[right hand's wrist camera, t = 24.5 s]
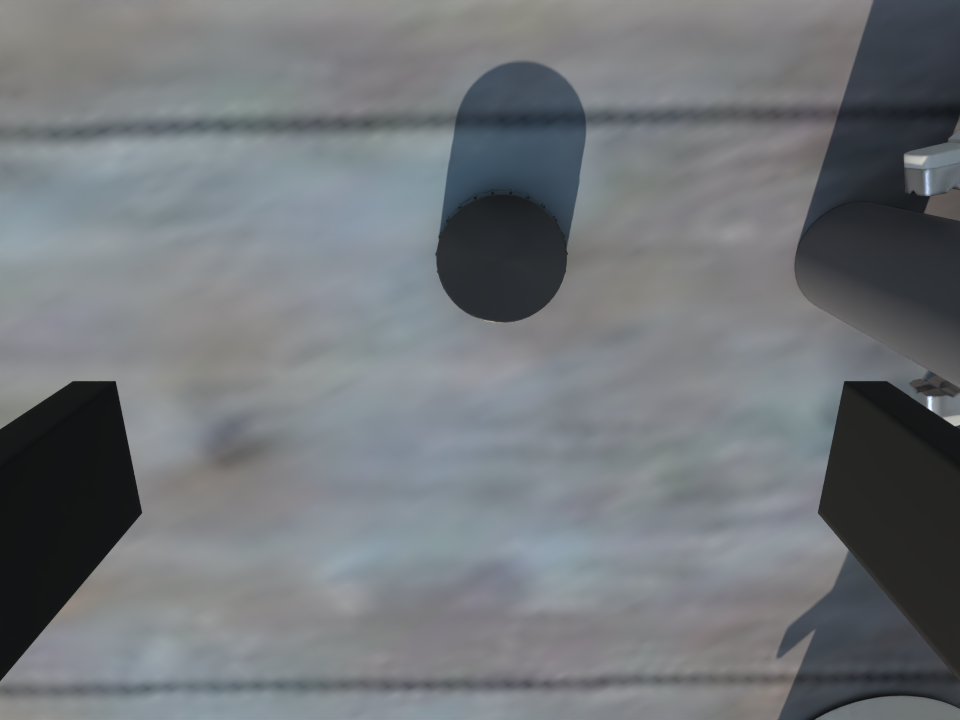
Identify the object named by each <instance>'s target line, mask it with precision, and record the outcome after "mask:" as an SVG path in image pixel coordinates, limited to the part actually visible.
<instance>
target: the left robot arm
mask: <svg viewBox="0 0 960 720" xmlns="http://www.w3.org/2000/svg"><path fill="white" fill-rule="evenodd" d="M904 176H905V193H908V194H911V193H916V194H917V195H920V196H931V195H939V194H943V193H947V192H948V191H949V190H950V189H957V190H960V129H959V130H958V131H957V132H956V133H954V134H953V135H952V136H951V137H950V138H949V139H948V142H947V143H943V144H938V145H934V146H930V147H925V148H921V149H917V150H912V151H909V152H906V153H904ZM909 396H910V397H911V398H913V399H914V400H916V401H918V402H919V403H921V404H922V405H924V406H925V407H927V408H928V409H930V410H931V411H933V412H934V413H936V414H937V415H939V416H940V417H942V418H943V419H945V420H946V421H948V422H949V423H951V424H952V425H954V426H957V425H960V388H959V387H957V386H956V385H954V384H952V383H950V382H949V381H947V380H945V379H943V378H942V377H940V376H933V377H931V378H930V379H928V380H927V381H924V380H922V379H918V380H914V381H912V382H910V383H909ZM815 720H960V709H959V708H957V707H955V706H953V705H950V704H948V703H945V702H942V701H938V700H935V699H930V698H924V697H916V696H886V697H878V698H872V699H866V700H862V701H858V702H854V703H851V704H848V705H845V706H842V707H839V708H837V709H835V710H832V711H830V712H828V713H826V714H824V715H822V716H820V717H818V718H817V719H815Z"/></svg>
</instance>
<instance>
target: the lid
mask: <svg viewBox="0 0 960 720" xmlns="http://www.w3.org/2000/svg"><path fill="white" fill-rule="evenodd" d="M556 221H557V220H556V218H555V217H554V216H553V217H552V216H551V214H550V213H549V212H548V211H547V210H546V209H545V206H544V204H543V203H541V204H540V203H538V202H537V201H536V200H534V199H532V198H531V197H530V196H529V194H526V195H524V194H521V193H517V192H513V191H512V190H511V189H509V191H506V190H497V191H494V189H491V191H490V192H486V193H482V194H479V195H476V194H475V195H474V197H473V198H471V199H469V200H468V201H466V202H465V203H463V204H461V203H460V204H459V206H458V209H457V210H456V211H455V212H454V213H453V214H452V216H451V217H448V218H447V220H446V222H447V223H446V225H445V227H444V229H443V232H440V235H439V237H438V238H440V239H439V243H438V247H437V251H436V256H437V269H438V270H437V273H438V274H439V278H440V281H441V283H442V285H443V288H444V290H445V291H446V293H447V294H448V296H449V297H450V298H451V300H452V301H453V302H454V303H455V304H456V305H457V306H458V307H459V308H460V309H462V310H463V311H465V312H466V313H468V314H470V315H471V316H473V317H476V318H478V319H481V320H484V321H488V322H496V323H507V322H514V321H518V320H522V319H524V318H527V317H529V316H531V315H533V314H535V313H537V312H538V311H539V310H541V309H542V308H543V307H544V306H545V305H547V304H548V303H549V302H550V300H551V299H552V298H553V297H554V296H555V294H556V292H557V291H558V289H559V287H560V285H561V283H562V281H563V278H564V274H565V272H566V263H567V255H568V253H567V251H566V245H565V241H564V237H565V236H564V234H563V233H562V232H561V230H560V228H559V226H558V225H557V223H556Z"/></svg>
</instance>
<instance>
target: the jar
mask: <svg viewBox="0 0 960 720" xmlns="http://www.w3.org/2000/svg"><path fill="white" fill-rule="evenodd" d="M795 276H796V280H797V283H798V286H799V288H800V290H801V292H802V293H803V295H804V296H805V297H806V298H807V299H808V300H809V301H810V302H811V303H812V304H814V305H815V306H817V307H819V308H821V309H822V310H824V311H826V312H828V313H829V314H831V315H833V316H835V317H836V318H838V319H840V320H842V321H843V322H845V323H847V324H849V325H850V326H852V327H854V328H856V329H857V330H859V331H861V332H863V333H864V334H866V335H868V336H870V337H871V338H873V339H875V340H877V341H879V342H880V343H882V344H884V345H886V346H887V347H889V348H891V349H893V350H894V351H896V352H898V353H900V354H901V355H903V356H905V357H907V358H908V359H910V360H912V361H914V362H915V363H917V364H919V365H921V366H922V367H924V368H926V369H928V370H929V371H931V372H933V373H935V374H936V375H938V376H940V377H942V378H943V379H945V380H947V381H949V382H950V383H952V384H954V385H956V386H957V387H959V388H960V221H957V220H952V219H947V218H943V217H938V216H933V215H929V214H924V213H919V212H915V211H910V210H905V209H901V208H896V207H891V206H887V205H882V204H877V203H873V202H852V203H847V204H844V205H841V206H838V207H836V208H834V209H832V210H830V211H828V212H827V213H825V214H824V215H822V216H821V217H820V218H819V219H817V220H816V221H815V222H814V223H813V224H812V225H811V227H810V228H809V229H808V230H807V232H806V233H805V235H804V236H803V238H802V240H801V242H800V244H799V247H798V249H797V253H796V258H795Z"/></svg>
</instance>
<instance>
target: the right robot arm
mask: <svg viewBox="0 0 960 720" xmlns="http://www.w3.org/2000/svg"><path fill="white" fill-rule="evenodd" d="M141 514H142V510H141V505H140V500H139V495H138V490H137V485H136V480H135V475H134V470H133V465H132V460H131V455H130V450H129V445H128V440H127V435H126V430H125V425H124V420H123V416H122V411H121V406H120V401H119V396H118V391H117V386H116V381H73V382H71V383H70V384H68V385H67V386H65V387H64V388H62V389H61V390H59V391H58V392H56V393H55V394H53V395H52V396H50V397H49V398H47V399H46V400H44V401H42V402H41V403H39V404H38V405H36V406H35V407H33V408H32V409H30V410H29V411H27V412H26V413H24V414H23V415H21V416H20V417H18V418H17V419H15V420H14V421H12V422H11V423H9V424H8V425H6V426H5V427H3V428H2V429H0V681H1V680H2V678H3V677H4V676H5V675H6V674H7V673H8V671H9V670H10V669H11V668H12V667H13V665H14V664H15V663H16V662H17V661H18V659H19V658H20V657H21V656H22V655H23V654H24V652H25V651H26V650H27V649H28V648H29V646H30V645H31V644H32V643H33V642H34V641H35V639H36V638H37V637H38V636H39V635H40V633H41V632H42V631H43V630H44V629H45V627H46V626H47V625H48V624H49V623H50V622H51V620H52V619H53V618H54V617H55V616H56V614H57V613H58V612H59V611H60V610H61V609H62V607H63V606H64V605H65V604H66V603H67V601H68V600H69V599H70V598H71V597H72V595H73V594H74V593H75V592H76V591H77V590H78V588H79V587H80V586H81V585H82V584H83V582H84V581H85V580H86V579H87V578H88V577H89V575H90V574H91V573H92V572H93V571H94V569H95V568H96V567H97V566H98V565H99V563H100V562H101V561H102V560H103V559H104V558H105V556H106V555H107V554H108V553H109V552H110V550H111V549H112V548H113V547H114V546H115V545H116V543H117V542H118V541H119V540H120V539H121V537H122V536H123V535H124V534H125V533H126V531H127V530H128V529H129V528H130V527H131V526H132V524H133V523H134V522H135V521H136V520H137V518H138V517H139V516H140V515H141ZM818 514H819V515H820V516H821V517H822V518H823V520H824V521H825V522H826V523H827V524H828V526H829V527H830V528H831V529H832V530H833V531H834V533H835V534H836V535H837V536H838V537H839V539H840V540H841V541H842V542H843V543H844V545H845V546H846V547H847V548H848V549H849V550H850V552H851V553H852V554H853V555H854V556H855V558H856V559H857V560H858V561H859V562H860V563H861V565H862V566H863V567H864V568H865V569H866V571H867V572H868V573H869V574H870V575H871V577H872V578H873V579H874V580H875V581H876V582H877V584H878V585H879V586H880V587H881V588H882V590H883V591H884V592H885V593H886V594H887V595H888V597H889V598H890V599H891V600H892V601H893V603H894V604H895V605H896V606H897V607H898V609H899V610H900V611H901V612H902V613H903V614H904V616H905V617H906V618H907V619H908V620H909V622H910V623H911V624H912V625H913V626H914V627H915V629H916V630H917V631H918V632H919V633H920V635H921V636H922V637H923V638H924V639H925V641H926V642H927V643H928V644H929V645H930V646H931V648H932V649H933V650H934V651H935V652H936V654H937V655H938V656H939V657H940V658H941V659H942V661H943V662H944V663H945V664H946V665H947V667H948V668H949V669H950V670H951V671H952V673H953V674H954V675H955V676H956V677H957V678H958V680H959V681H960V429H958V428H957V427H955V426H954V425H952V424H951V423H949V422H948V421H946V420H945V419H943V418H942V417H940V416H939V415H937V414H936V413H934V412H933V411H931V410H930V409H928V408H927V407H925V406H924V405H922V404H921V403H919V402H918V401H916V400H914V399H913V398H911V397H910V396H908V395H907V394H905V393H904V392H902V391H901V390H899V389H898V388H896V387H895V386H893V385H892V384H890V383H889V382H887V381H844V386H843V391H842V396H841V401H840V406H839V411H838V415H837V420H836V425H835V430H834V435H833V440H832V445H831V450H830V455H829V460H828V465H827V470H826V475H825V480H824V485H823V490H822V495H821V500H820V505H819V510H818Z"/></svg>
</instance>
